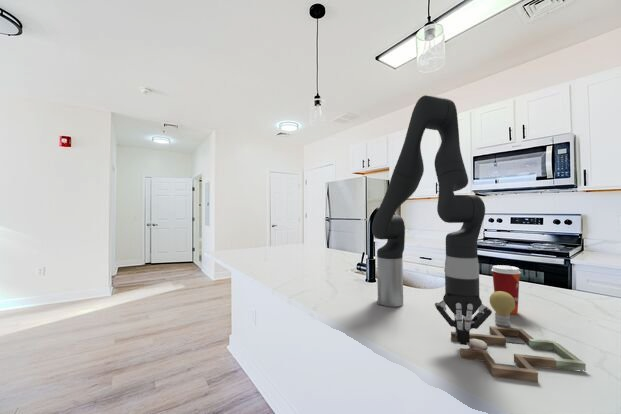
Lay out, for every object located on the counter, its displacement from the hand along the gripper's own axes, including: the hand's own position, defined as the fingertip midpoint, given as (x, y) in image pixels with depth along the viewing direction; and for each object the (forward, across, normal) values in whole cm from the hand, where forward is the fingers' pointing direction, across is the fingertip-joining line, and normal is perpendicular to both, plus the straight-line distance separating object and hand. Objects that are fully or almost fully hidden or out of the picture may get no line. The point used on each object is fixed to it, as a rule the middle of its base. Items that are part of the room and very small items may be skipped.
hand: (462, 343), depth 68 cm
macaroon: (+2, +4, 0) cm, 4 cm away
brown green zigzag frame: (+1, +10, 0) cm, 10 cm away
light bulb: (+1, +15, +18) cm, 24 cm away
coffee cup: (+1, +21, +31) cm, 38 cm away
